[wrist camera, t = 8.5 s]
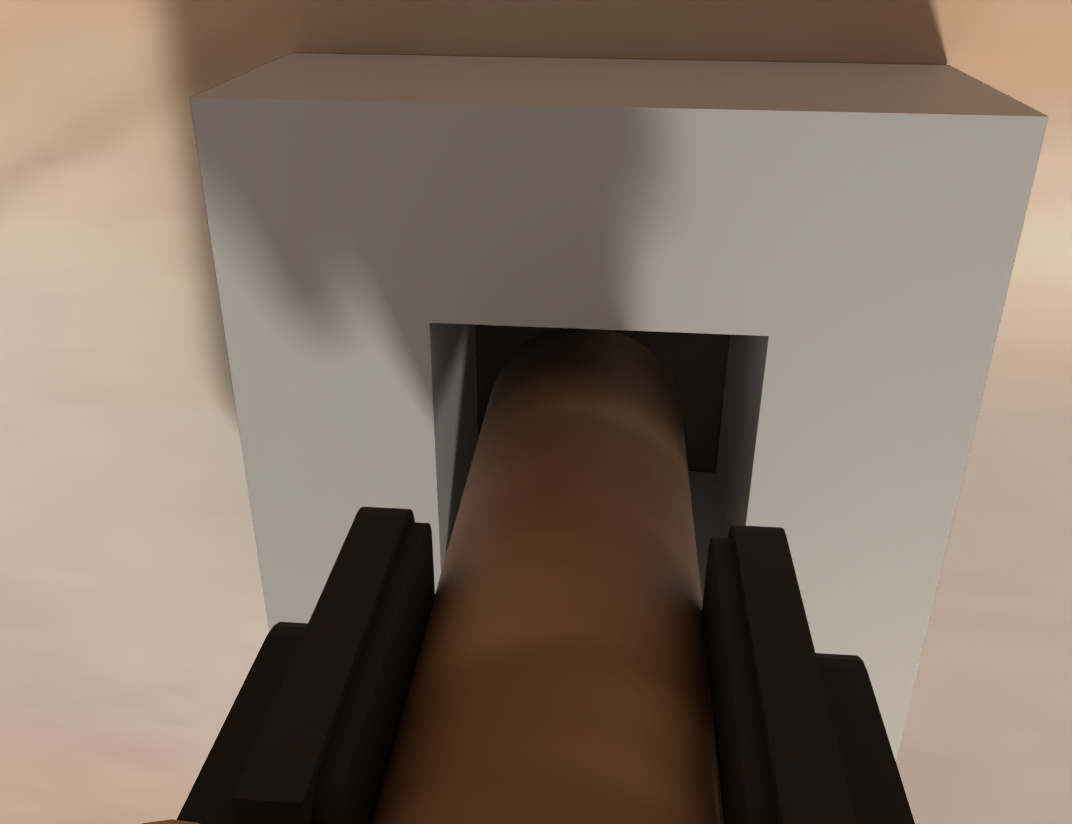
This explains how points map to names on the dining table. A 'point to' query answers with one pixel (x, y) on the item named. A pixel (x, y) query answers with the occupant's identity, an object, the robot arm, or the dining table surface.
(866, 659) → the hole block
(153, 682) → the dining table surface
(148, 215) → the dining table surface
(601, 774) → the long pin
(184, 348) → the dining table surface
